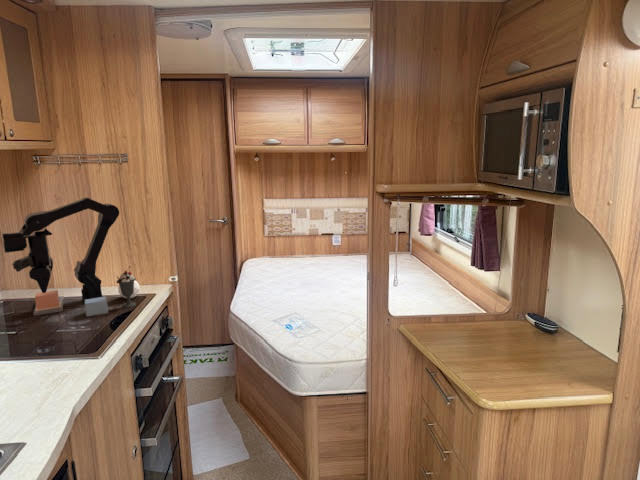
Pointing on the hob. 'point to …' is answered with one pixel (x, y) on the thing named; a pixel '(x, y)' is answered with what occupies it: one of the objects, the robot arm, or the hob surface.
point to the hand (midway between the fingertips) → (45, 289)
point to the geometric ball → (136, 290)
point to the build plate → (50, 310)
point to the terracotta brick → (47, 299)
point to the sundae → (127, 287)
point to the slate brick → (96, 306)
